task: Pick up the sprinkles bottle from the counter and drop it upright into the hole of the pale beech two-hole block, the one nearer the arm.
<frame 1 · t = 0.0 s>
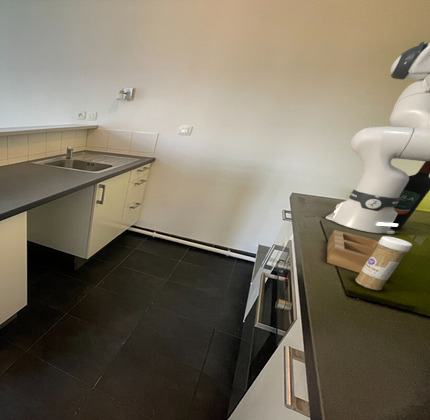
hole block: (352, 259, 76), on the counter
wine bottle: (386, 225, 103), on the counter, touching arm
sprinkles bottle: (367, 285, 64), on the counter
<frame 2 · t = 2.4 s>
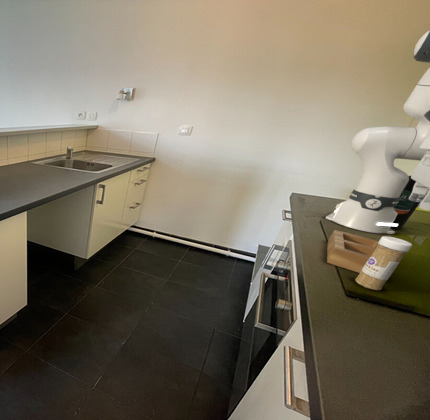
hand: (419, 205, 56), 22 cm above the counter, tool pointing down, fingers open, 8 cm apart
nothing on the counter moved.
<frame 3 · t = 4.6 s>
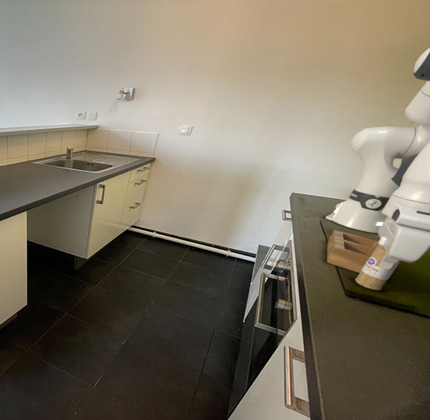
hand: (382, 262, 61), 7 cm above the counter, tool pointing down, fingers closed on sprinkles bottle, 4 cm apart
sprinkles bottle: (367, 285, 64), on the counter, touching gripper
everything else where it was.
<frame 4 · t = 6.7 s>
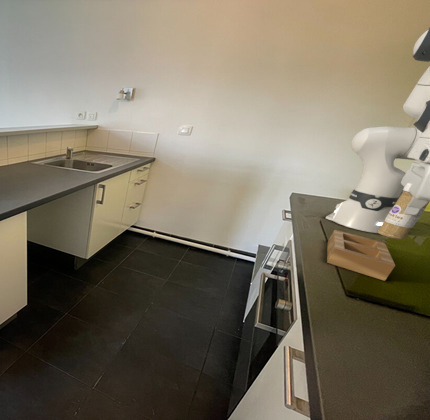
hand: (406, 210, 59), 20 cm above the counter, tool pointing down, fingers closed on sprinkles bottle, 4 cm apart
sprinkles bottle: (390, 236, 62), point 13 cm above the counter, touching gripper
everything else where it was.
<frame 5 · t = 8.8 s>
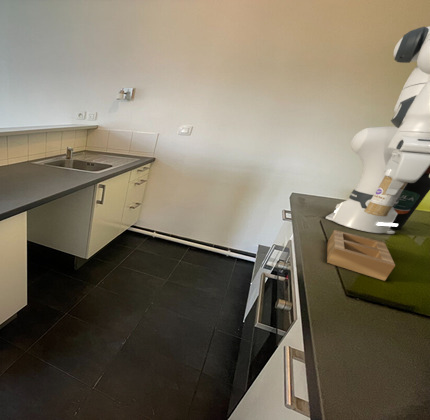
hand: (388, 192, 71), 21 cm above the counter, tool pointing down, fingers closed on sprinkles bottle, 4 cm apart
sprinkles bottle: (374, 214, 74), point 14 cm above the counter, touching gripper
everything else where it was.
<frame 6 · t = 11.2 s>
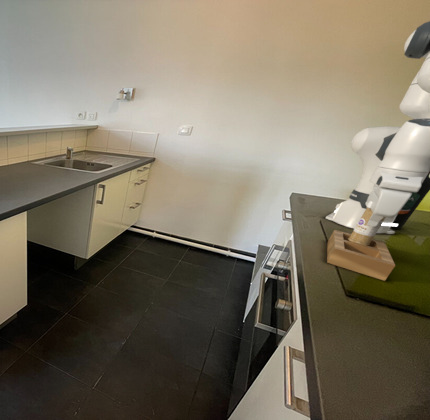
hand: (369, 223, 75), 11 cm above the counter, tool pointing down, fingers closed on sprinkles bottle, 4 cm apart
sprinkles bottle: (357, 243, 77), point 4 cm above the counter, touching gripper
everything else where it was.
when the fingers open (7 cm above the counter, at t = 13.1 s): sprinkles bottle stays where it is, resting in hole block.
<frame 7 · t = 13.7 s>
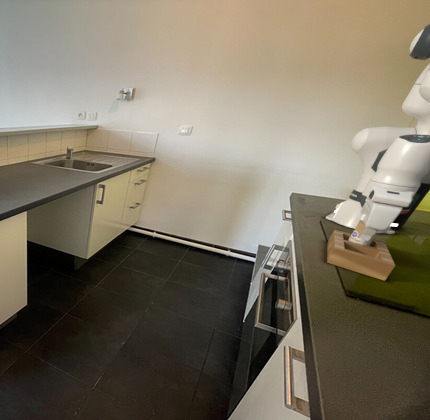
hand: (362, 234, 76), 7 cm above the counter, tool pointing down, fingers open, 8 cm apart
sprinkles bottle: (351, 254, 79), resting in hole block
everything else where it was.
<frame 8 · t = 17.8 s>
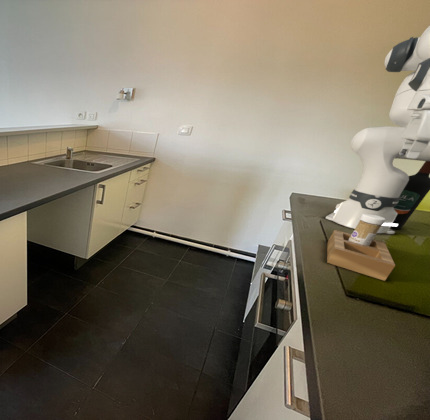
hand: (407, 156, 69), 31 cm above the counter, tool pointing down, fingers open, 8 cm apart
nothing on the counter moved.
at the end: sprinkles bottle 0.1 cm from the target spot in the hole block, point 0.0 cm above the hole block's base; sprinkles bottle tilted 0°; the gripper is holding nothing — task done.
